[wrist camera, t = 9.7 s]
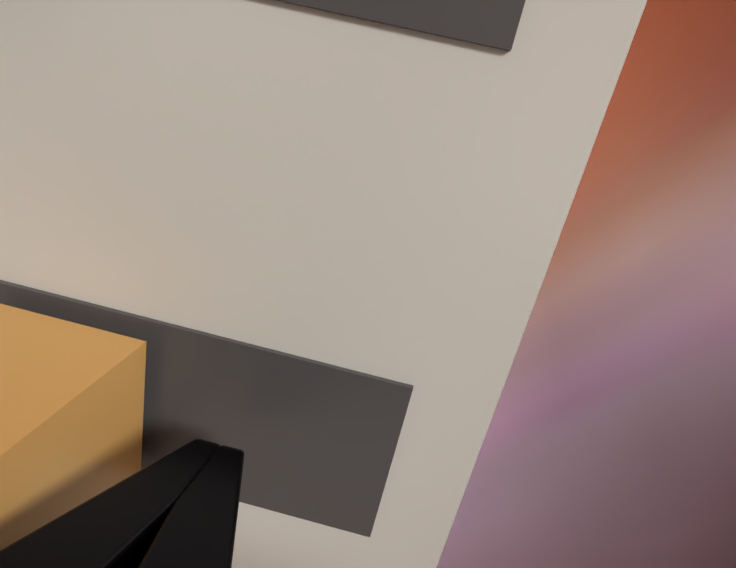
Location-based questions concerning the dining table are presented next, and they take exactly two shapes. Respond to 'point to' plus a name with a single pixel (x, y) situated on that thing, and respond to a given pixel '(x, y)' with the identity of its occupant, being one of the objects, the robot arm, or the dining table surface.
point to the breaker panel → (305, 230)
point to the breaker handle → (64, 416)
